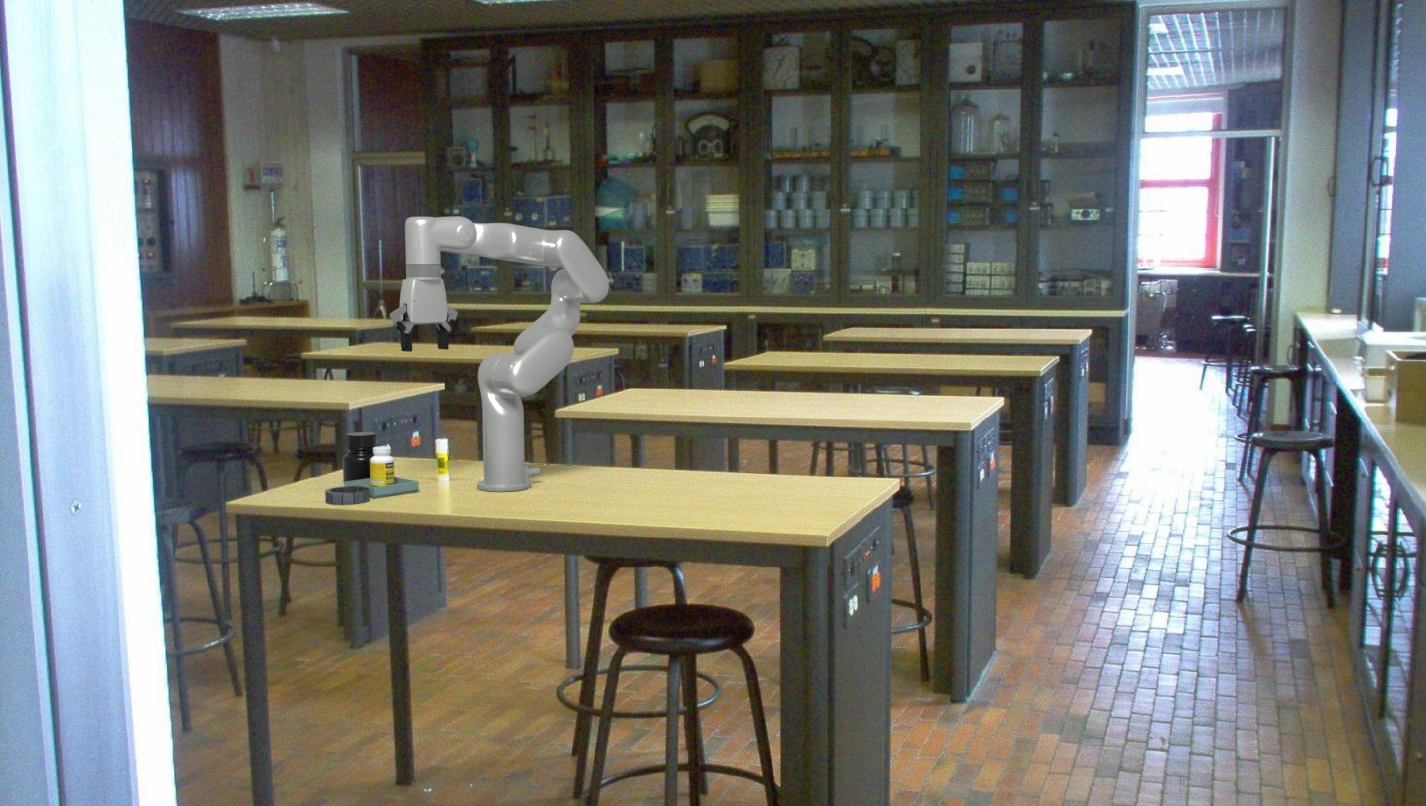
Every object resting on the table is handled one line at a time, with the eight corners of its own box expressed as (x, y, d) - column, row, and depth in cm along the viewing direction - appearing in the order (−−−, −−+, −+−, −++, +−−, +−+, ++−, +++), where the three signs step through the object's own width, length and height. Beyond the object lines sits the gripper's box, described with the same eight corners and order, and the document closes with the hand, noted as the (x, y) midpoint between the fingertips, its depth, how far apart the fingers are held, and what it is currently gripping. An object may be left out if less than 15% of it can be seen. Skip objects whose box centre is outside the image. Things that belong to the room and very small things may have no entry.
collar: (354, 495, 300) (353, 484, 300) (377, 500, 294) (377, 489, 294) (317, 501, 293) (316, 490, 293) (340, 506, 287) (340, 495, 287)
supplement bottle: (388, 491, 302) (387, 449, 301) (366, 491, 303) (365, 448, 302) (398, 487, 307) (397, 446, 306) (377, 487, 308) (375, 445, 307)
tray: (388, 485, 313) (388, 475, 313) (418, 491, 305) (418, 481, 305) (344, 492, 304) (344, 481, 304) (374, 498, 296) (373, 487, 296)
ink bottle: (387, 484, 316) (386, 434, 314) (351, 487, 311) (350, 437, 309) (373, 478, 324) (371, 430, 322) (337, 482, 319) (336, 432, 317)
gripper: (445, 272, 301) (447, 347, 303) (380, 273, 288) (382, 351, 290) (465, 272, 296) (467, 349, 298) (400, 273, 283) (402, 353, 285)
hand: (425, 350), depth 294 cm, fingers open, 9 cm apart
